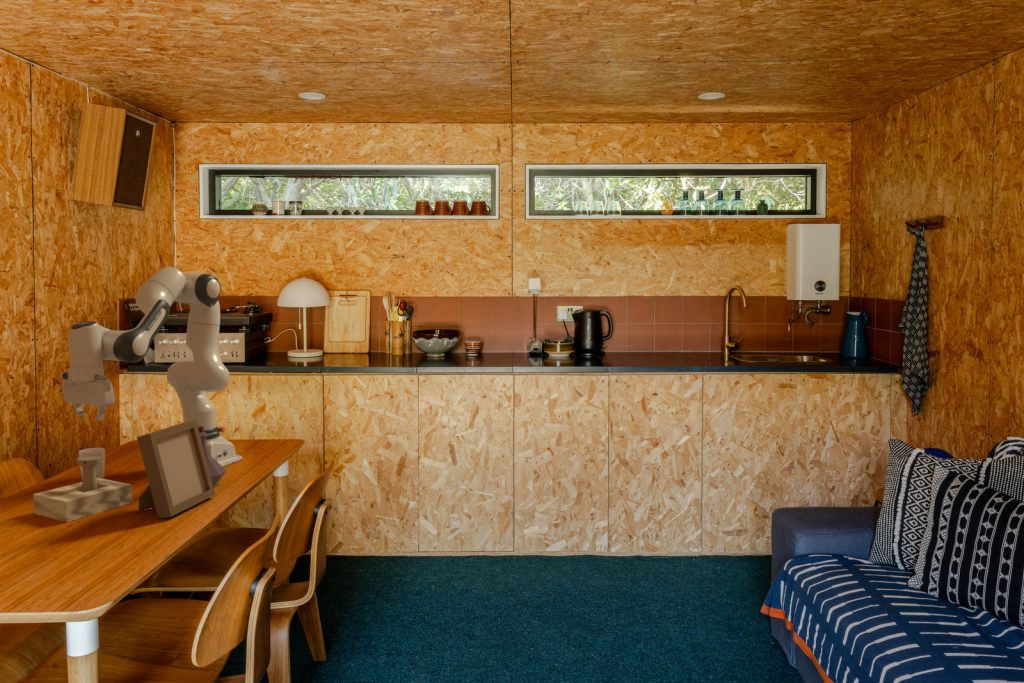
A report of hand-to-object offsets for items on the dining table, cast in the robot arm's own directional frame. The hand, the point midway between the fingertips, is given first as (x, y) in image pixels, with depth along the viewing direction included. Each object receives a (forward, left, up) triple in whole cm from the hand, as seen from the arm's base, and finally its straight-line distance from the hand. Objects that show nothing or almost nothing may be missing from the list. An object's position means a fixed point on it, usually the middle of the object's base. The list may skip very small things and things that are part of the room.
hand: (90, 418), depth 225 cm
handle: (+5, +5, -26) cm, 27 cm away
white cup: (-15, -25, -26) cm, 39 cm away
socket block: (+7, +5, -26) cm, 27 cm away
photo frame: (-7, +27, -26) cm, 39 cm away
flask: (-27, +15, -26) cm, 41 cm away
